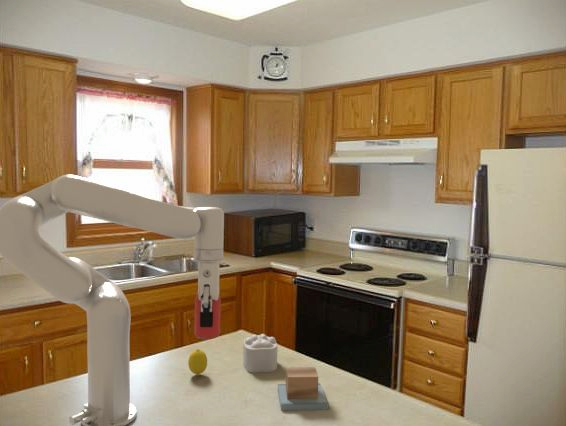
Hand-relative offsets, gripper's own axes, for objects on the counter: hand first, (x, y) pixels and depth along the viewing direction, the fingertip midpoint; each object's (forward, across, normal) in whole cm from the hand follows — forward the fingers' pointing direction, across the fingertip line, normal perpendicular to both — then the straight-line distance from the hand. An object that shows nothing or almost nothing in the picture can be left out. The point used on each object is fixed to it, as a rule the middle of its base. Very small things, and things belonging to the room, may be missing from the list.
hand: (207, 321), depth 126 cm
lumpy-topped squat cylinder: (+21, +24, -15) cm, 36 cm away
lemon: (+21, +16, +4) cm, 27 cm away
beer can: (+4, 0, 0) cm, 4 cm away
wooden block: (+19, 0, -25) cm, 32 cm away
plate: (+21, 0, -26) cm, 33 cm away
